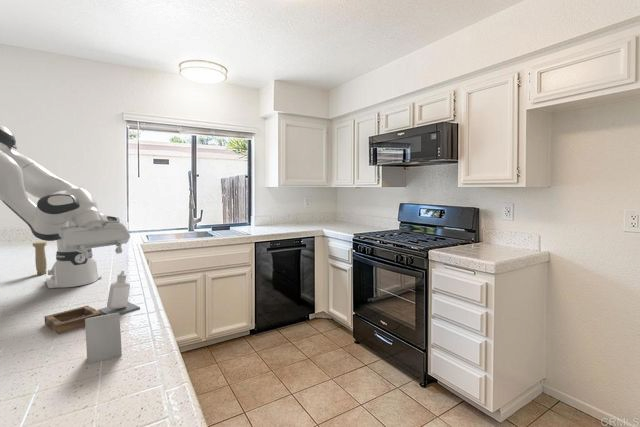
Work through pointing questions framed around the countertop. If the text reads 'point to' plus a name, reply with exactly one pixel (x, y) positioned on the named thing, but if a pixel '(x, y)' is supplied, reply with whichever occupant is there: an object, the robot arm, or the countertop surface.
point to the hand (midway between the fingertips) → (105, 254)
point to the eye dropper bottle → (118, 293)
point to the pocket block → (57, 319)
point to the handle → (40, 257)
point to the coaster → (126, 309)
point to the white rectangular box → (103, 337)
